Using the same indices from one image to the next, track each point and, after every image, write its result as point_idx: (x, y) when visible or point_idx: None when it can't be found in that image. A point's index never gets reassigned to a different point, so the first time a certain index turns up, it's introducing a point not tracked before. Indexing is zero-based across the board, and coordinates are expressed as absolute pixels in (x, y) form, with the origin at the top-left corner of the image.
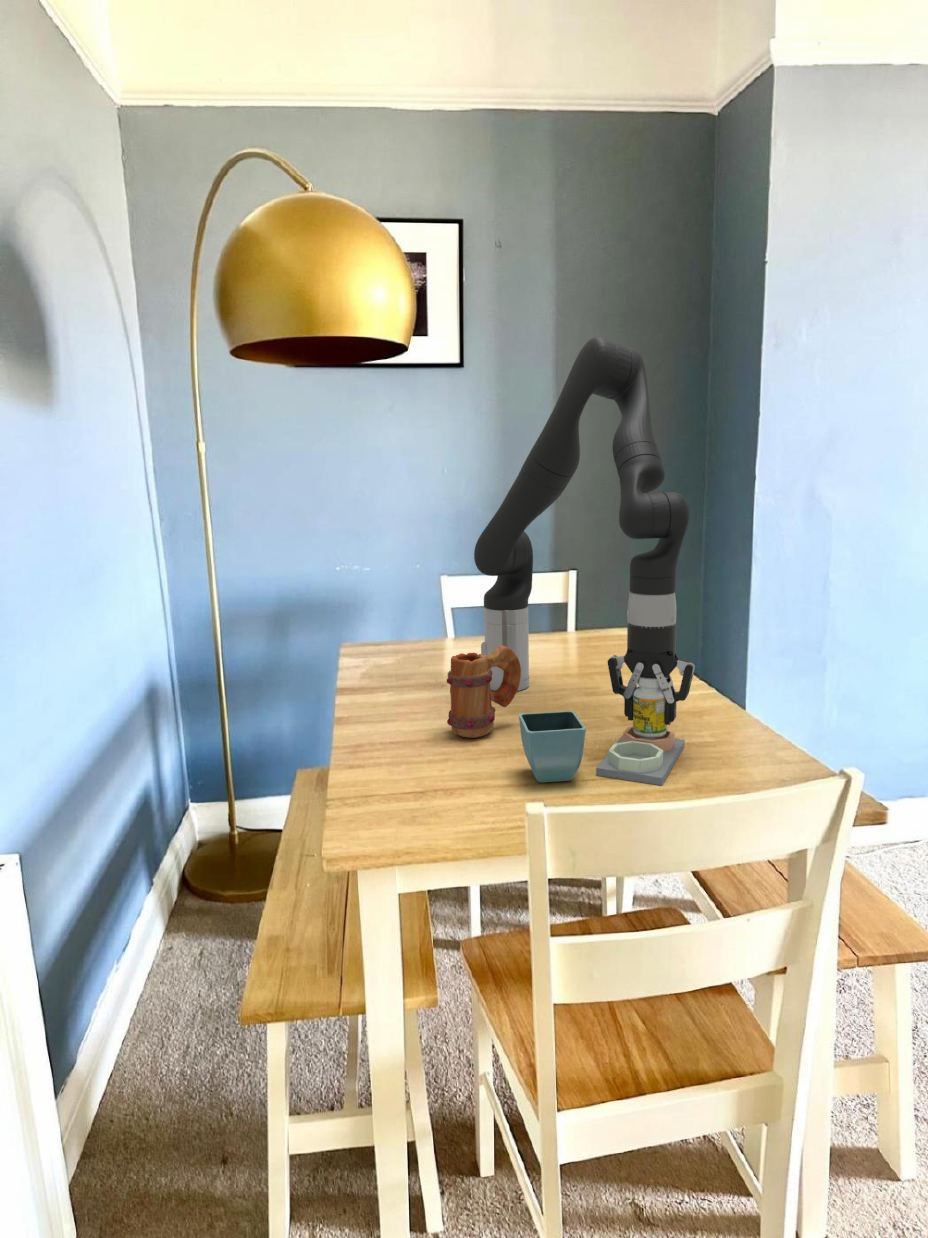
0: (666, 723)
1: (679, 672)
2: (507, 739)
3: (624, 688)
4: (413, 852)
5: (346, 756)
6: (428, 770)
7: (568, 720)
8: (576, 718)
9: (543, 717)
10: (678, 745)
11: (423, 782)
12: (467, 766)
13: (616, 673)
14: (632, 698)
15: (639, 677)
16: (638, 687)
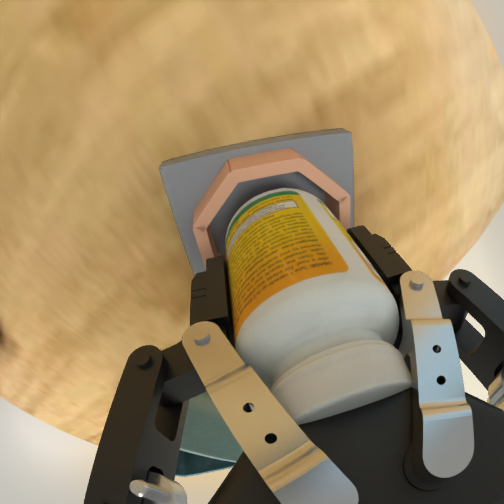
0: None
1: (490, 397)
2: (11, 311)
3: (199, 391)
4: None
5: (5, 398)
6: (66, 406)
7: None
8: (201, 455)
9: None
10: (347, 185)
11: (92, 420)
12: (76, 392)
13: (173, 471)
14: (233, 344)
15: None
16: (270, 387)
